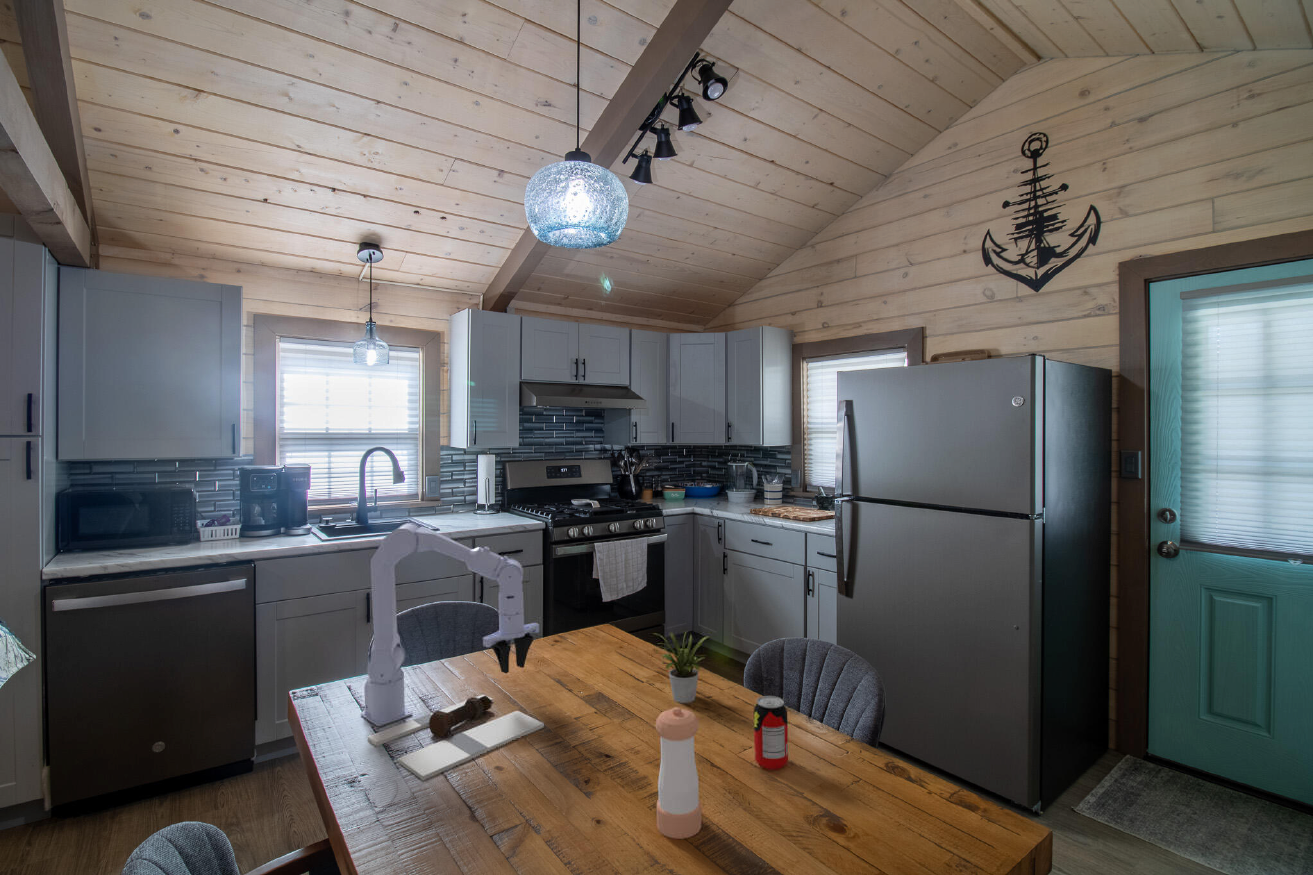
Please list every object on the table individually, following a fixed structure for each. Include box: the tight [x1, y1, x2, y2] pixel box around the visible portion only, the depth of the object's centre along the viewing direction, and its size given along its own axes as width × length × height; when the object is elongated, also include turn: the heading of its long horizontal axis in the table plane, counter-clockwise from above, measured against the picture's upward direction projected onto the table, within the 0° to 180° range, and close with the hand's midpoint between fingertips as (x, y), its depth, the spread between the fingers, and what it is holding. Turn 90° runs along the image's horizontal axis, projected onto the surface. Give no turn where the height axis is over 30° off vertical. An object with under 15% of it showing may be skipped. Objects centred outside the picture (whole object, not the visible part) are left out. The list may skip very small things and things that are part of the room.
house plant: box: [652, 630, 710, 704], centre depth 153 cm, size 14×14×16 cm
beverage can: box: [753, 695, 789, 771], centre depth 123 cm, size 6×6×12 cm
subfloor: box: [367, 694, 545, 781], centre depth 138 cm, size 24×28×1 cm
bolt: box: [428, 695, 493, 739], centre depth 143 cm, size 6×5×15 cm
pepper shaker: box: [655, 706, 702, 840], centre depth 104 cm, size 7×7×19 cm
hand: (512, 669), depth 152 cm, fingers open, 4 cm apart
